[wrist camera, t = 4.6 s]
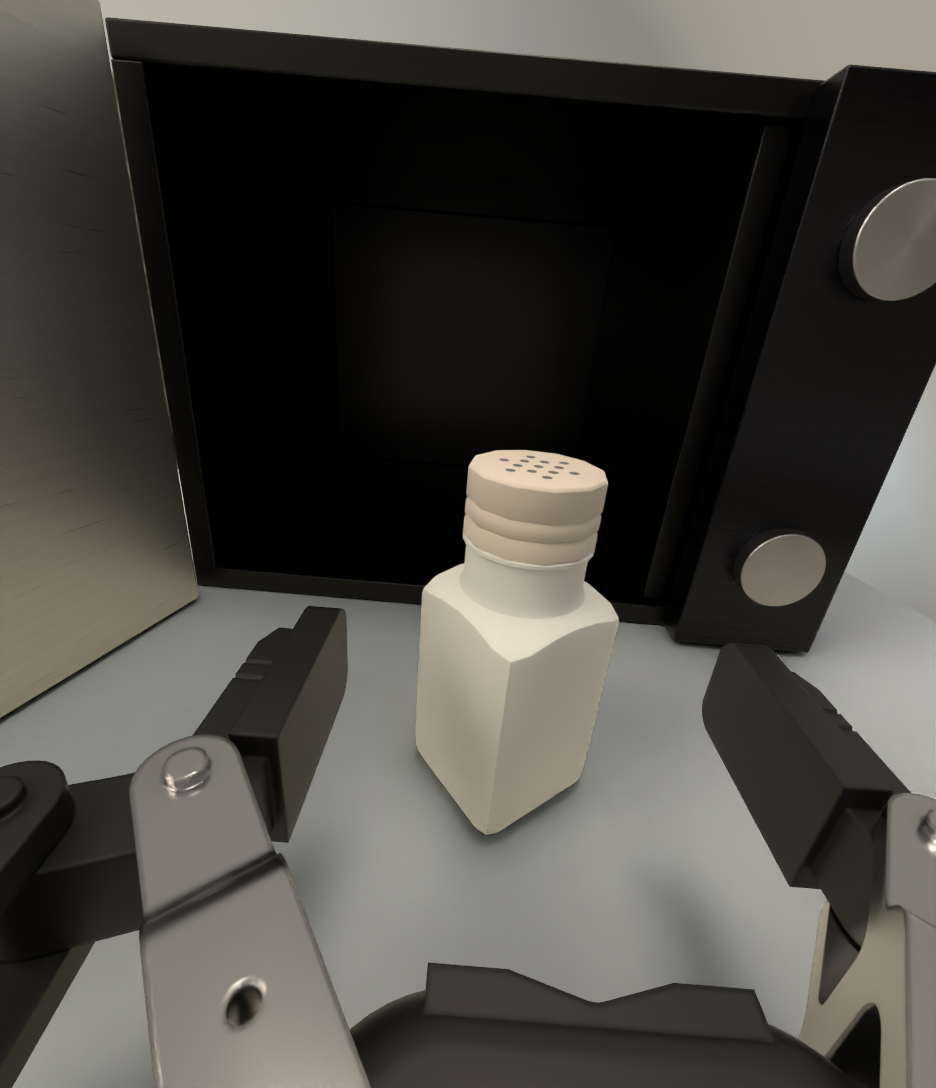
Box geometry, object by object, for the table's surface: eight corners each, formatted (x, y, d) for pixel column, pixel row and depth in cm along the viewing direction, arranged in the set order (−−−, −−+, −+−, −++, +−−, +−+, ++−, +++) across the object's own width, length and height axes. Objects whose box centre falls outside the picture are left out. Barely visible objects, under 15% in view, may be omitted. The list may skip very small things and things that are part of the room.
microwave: (818, 668, 21) (1098, 58, 13) (167, 612, 21) (39, -35, 13) (649, 490, 44) (714, 222, 35) (330, 462, 44) (320, 187, 35)
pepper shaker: (483, 854, 13) (532, 507, 9) (406, 749, 16) (418, 451, 12) (588, 784, 15) (665, 481, 11) (504, 703, 18) (542, 440, 14)
